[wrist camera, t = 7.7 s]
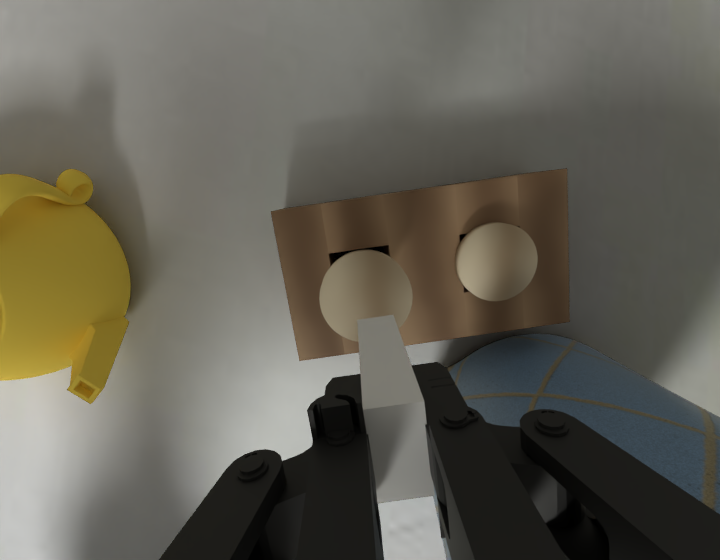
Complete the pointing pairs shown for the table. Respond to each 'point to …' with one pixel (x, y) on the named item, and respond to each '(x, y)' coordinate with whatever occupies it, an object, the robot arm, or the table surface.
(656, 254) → the table surface
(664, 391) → the planter
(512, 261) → the peg
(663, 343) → the table surface
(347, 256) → the peg
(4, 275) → the teapot
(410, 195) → the socket block
